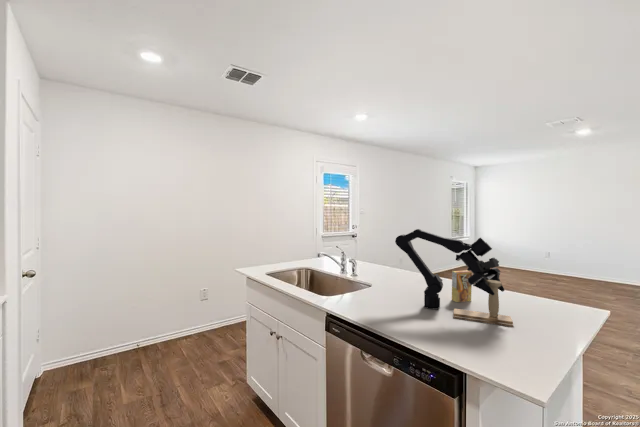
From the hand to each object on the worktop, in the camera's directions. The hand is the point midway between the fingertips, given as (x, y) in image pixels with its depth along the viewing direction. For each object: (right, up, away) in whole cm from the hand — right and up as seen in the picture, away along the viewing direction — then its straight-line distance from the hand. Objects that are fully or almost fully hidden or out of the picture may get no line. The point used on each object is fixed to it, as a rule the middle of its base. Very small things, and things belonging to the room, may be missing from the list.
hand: (498, 292), depth 124 cm
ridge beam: (-5, -12, +4) cm, 14 cm away
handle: (-1, -11, +2) cm, 11 cm away
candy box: (-2, -12, +28) cm, 30 cm away
